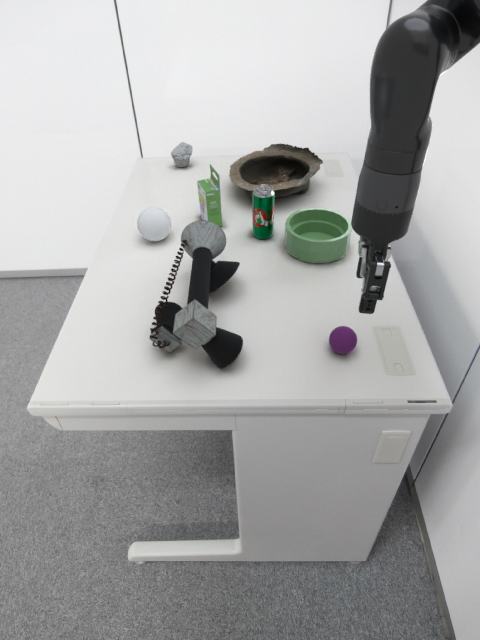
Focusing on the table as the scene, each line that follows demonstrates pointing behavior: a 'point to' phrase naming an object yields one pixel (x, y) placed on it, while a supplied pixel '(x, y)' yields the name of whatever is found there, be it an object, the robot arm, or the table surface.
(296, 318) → the table surface
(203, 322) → the telephone
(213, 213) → the ink box
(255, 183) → the stone bowl
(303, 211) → the green bowl
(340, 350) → the plum ball
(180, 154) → the grey muffin
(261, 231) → the soda can
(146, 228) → the ball
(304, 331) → the table surface
